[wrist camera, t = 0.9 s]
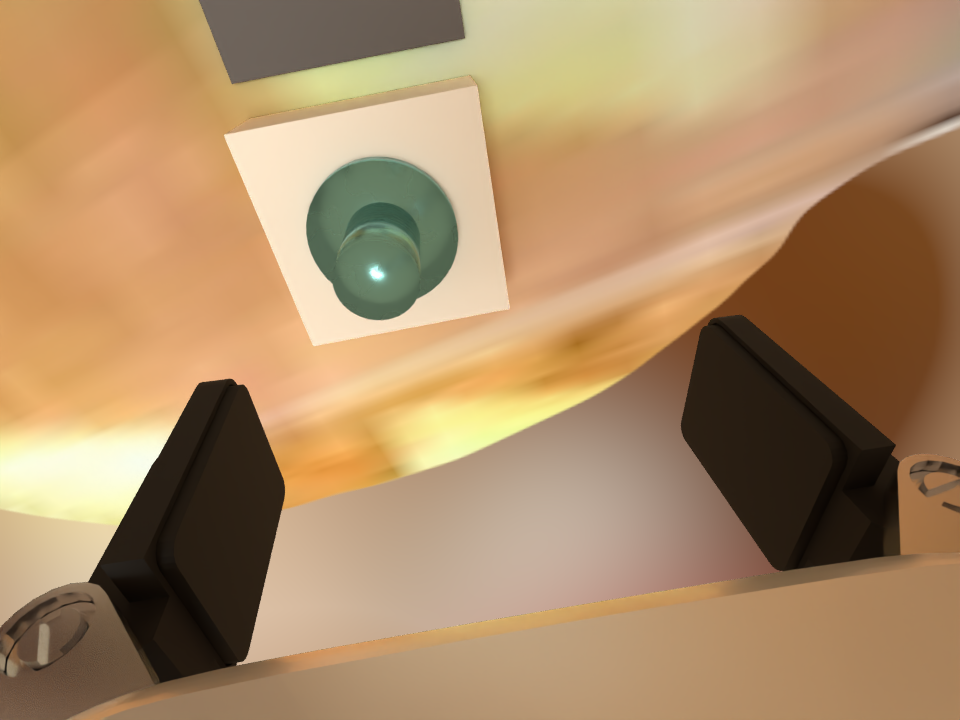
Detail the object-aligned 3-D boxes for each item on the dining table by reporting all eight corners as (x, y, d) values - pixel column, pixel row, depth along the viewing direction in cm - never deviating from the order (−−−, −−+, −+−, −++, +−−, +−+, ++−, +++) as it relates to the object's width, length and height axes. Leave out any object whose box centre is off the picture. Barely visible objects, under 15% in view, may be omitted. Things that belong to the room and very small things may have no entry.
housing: (469, 75, 32) (477, 85, 27) (500, 277, 40) (509, 308, 36) (249, 118, 32) (223, 134, 28) (324, 311, 40) (313, 346, 36)
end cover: (438, 126, 33) (446, 175, 23) (463, 255, 38) (478, 339, 28) (301, 153, 33) (253, 213, 23) (345, 278, 38) (319, 369, 28)
